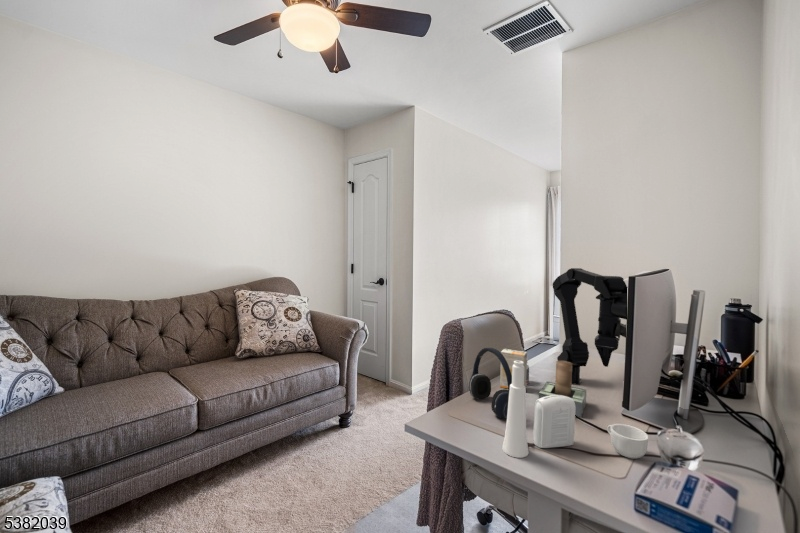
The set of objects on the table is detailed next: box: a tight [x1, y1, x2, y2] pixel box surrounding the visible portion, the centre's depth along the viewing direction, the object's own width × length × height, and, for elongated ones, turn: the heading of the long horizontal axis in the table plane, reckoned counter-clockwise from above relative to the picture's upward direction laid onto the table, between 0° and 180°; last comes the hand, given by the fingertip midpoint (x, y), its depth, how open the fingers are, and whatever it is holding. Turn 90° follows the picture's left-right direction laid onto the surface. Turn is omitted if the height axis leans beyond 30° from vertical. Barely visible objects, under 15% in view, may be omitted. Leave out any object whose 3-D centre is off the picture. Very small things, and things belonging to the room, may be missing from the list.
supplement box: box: [499, 348, 528, 390], centre depth 126 cm, size 8×5×13 cm, turn 58°
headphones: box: [468, 347, 512, 419], centre depth 109 cm, size 20×7×18 cm, turn 18°
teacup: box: [606, 423, 649, 460], centre depth 87 cm, size 10×8×5 cm
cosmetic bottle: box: [501, 360, 529, 459], centre depth 85 cm, size 6×6×22 cm
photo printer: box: [532, 395, 576, 449], centre depth 89 cm, size 10×4×12 cm, turn 103°
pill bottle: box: [526, 364, 530, 385], centre depth 131 cm, size 5×5×9 cm
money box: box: [538, 381, 587, 419], centre depth 112 cm, size 12×12×4 cm
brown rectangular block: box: [554, 360, 572, 398], centre depth 112 cm, size 5×5×13 cm
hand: (606, 362), depth 115 cm, fingers open, 9 cm apart
